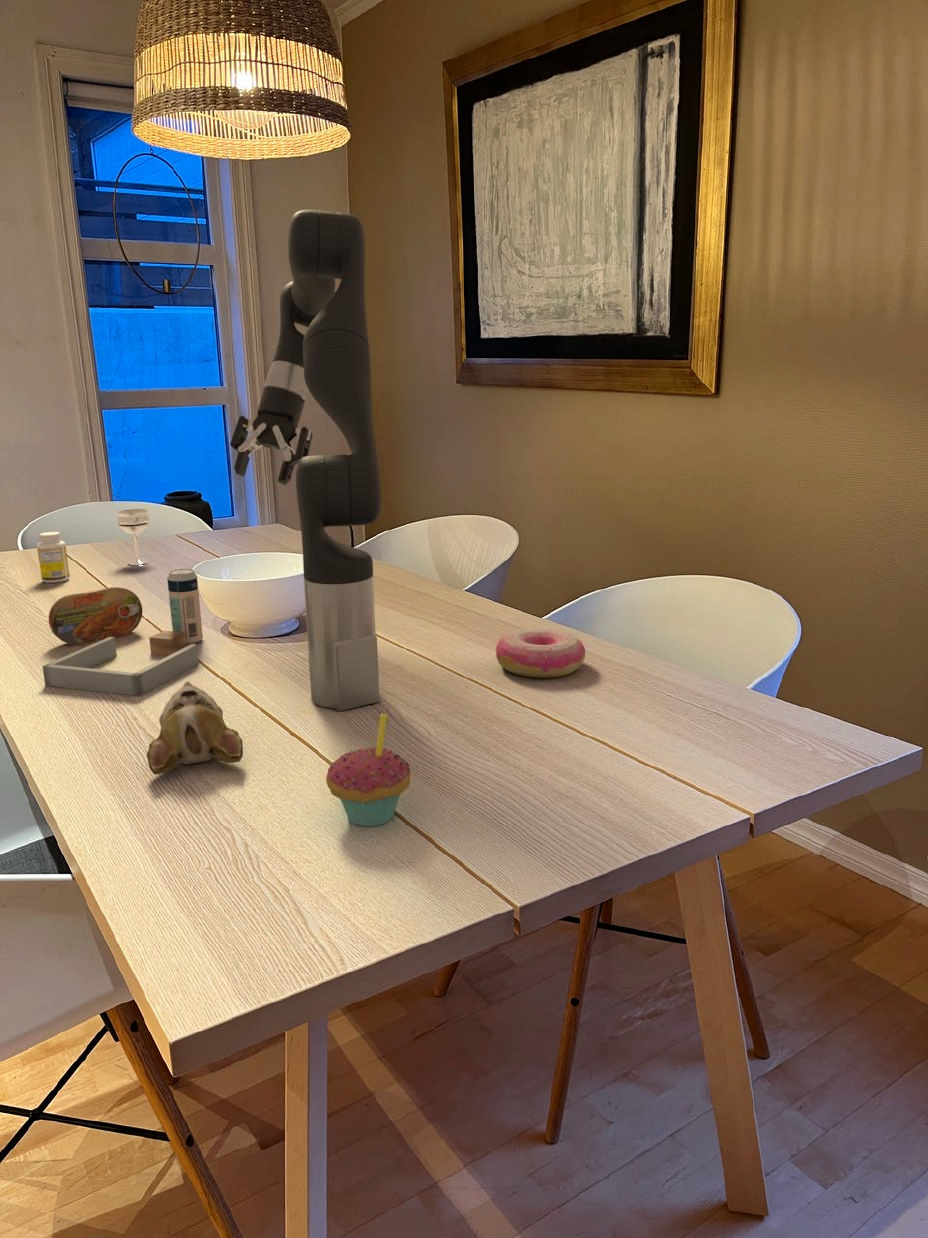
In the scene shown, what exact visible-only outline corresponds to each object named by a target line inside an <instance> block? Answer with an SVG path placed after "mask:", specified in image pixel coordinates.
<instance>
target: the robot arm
mask: <svg viewBox="0 0 928 1238" xmlns="http://www.w3.org/2000/svg"><path fill="white" fill-rule="evenodd" d="M287 237H288V238H287V239H288V240H287V241H288V243H287V247H288V248H287V251H288V253H287V254H288V262H289V266H290V272H291V276H292V281H290V282H288V283H287V284H286V285H285V286H284V287H283V289H282V290H281V294H280V297H279V317H280V321H279V323H280V325H279V337H278V341H277V345H276V349H275V353H274V357H273V360H272V364H271V366H270V369H269V371H268V372H267V375H266V380H265V383H264V386H263V390H262V393H261V397H260V400H259V403H258V407H257V415H256V417H255V418H254V419H251V418H247V417H245V415H240V416H239V417H238V419H237V424H236V426H235V428H234V431H233V434H232V437H231V441H230V443H229V445H230V447H231V448H233V449H234V450H236V451H237V457H236V461H235V464H234V467H233V468H234V471H235V474H236V475H237V476H240V477H245V475H246V473H247V470H248V469H247V468H248V466H249V465H248V464H249V462H250V459H251V457H250V456H251V455H252V454H253V453H254V452H255V451H257V450H260V449H261V448H262V447H265V448H267V449H268V448H269V449H270V448H273V449H276V450H280V451H282V454H283V457H284V460H283V461H282V465H281V467H280V470H279V475H278V478H277V481H278V483H279V484H281V485H284V486H285V485H287V484H288V483H290V481H291V479H292V475H293V472H294V469H295V467H296V472H295V488H296V491H295V492H296V501H297V507H298V515H299V523H300V531H301V532H300V533H301V545H302V559H303V560H302V565H303V584H304V585H303V586H304V599H305V601H304V604H305V618H306V619H305V621H306V635H307V637H306V638H307V651H308V652H307V653H308V667H309V678H310V679H309V682H310V696H311V697H310V699H311V701H312V703H313V704H315V705H317V706H320V707H323V708H329V709H335V710H337V711H347V710H349V709H353V708H358V707H363V706H366V705H371V704H376V703H379V702H380V682H379V680H380V678H379V677H380V675H379V657H378V656H379V655H378V651H379V650H378V637H377V635H376V614H375V611H376V610H375V607H376V606H375V587H374V583H375V582H374V563H373V562H374V561H373V558H372V555H371V554H369V552H367V551H365V550H362V549H360V548H356V547H352V546H350V545H346V544H345V543H342V542H340V541H338V540H336V539H334V538H333V537H332V536H330V535H329V534H328V533H327V531H326V530H325V528H326V527H327V528H328V527H329V528H330V527H351V526H366V525H372V524H374V523H376V521H377V520H378V519H379V517H380V514H381V509H382V499H383V498H382V484H381V483H382V482H381V475H380V466H379V460H378V453H377V445H376V437H375V429H374V419H373V407H372V404H373V403H372V370H371V369H372V368H371V367H372V366H371V351H370V350H371V349H370V341H369V340H370V339H369V333H368V324H367V323H368V322H367V315H366V299H365V298H366V295H365V294H366V292H365V291H366V290H365V289H366V287H365V286H366V285H365V284H366V283H365V282H366V281H365V278H366V277H365V276H366V273H365V272H366V271H365V270H366V267H365V266H366V248H365V247H366V246H365V245H366V244H365V233H364V228H363V224H362V222H361V220H360V218H359V217H358V216H356V215H354V214H351V213H346V212H338V211H330V210H329V211H326V210H317V209H316V210H315V209H303V210H302V209H300V210H299V211H297V212H295V213H293V216H292V217H291V220H290V223H289V228H288V236H287ZM336 280H340V282H339V285H338V287H337V289H336ZM296 324H297V325H300V326H303V327H305V328H307V329H306V331H305V333H304V334H303V333H301V331H299V330H298V329H297V327H296ZM308 392H309V393H310V394H311V396H312V397H313V399H314V400H315V401H316V403H317V404H318V405H319V407H320V408H321V409H322V410H323V411H324V412H325V413H326V415H328V417H329V418H330V419H331V420H332V421H333V422H334V423H335V424H336V426H337V427H338V428H339V431H341V433H342V434H343V435H342V436H343V437H344V438H345V440H346V442H347V445H348V447H349V449H350V451H351V454H327V455H324V454H322V455H309V453H310V449H311V443H312V440H313V434H314V433H313V432H312V431H311V430H310V428H308V427H306V426H303V427H298V424H299V423H300V421H301V418H302V413H303V410H304V406H305V403H306V399H307V397H308V394H309V393H308ZM252 428H253V431H252ZM251 431H252V433H251V434H249V432H251ZM248 434H249V435H248ZM296 437H297V439H298V442H297V446H296V450H294V447H293V444H292V440H293V439H295V438H296ZM296 465H297V466H296Z"/></svg>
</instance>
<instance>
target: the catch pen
mask: <svg viewBox="0 0 928 1238" xmlns="http://www.w3.org/2000/svg"><path fill="white" fill-rule="evenodd" d="M116 645H117V644H116V637H108V638H106V639H104V640H100V641H96V642H93V643H92V644H90V645H88V646H85V647H83V648H81V649H79V650H76V651H75V652H71V653H70V654H67V655H65V656H63V657H60V658H59V659H56V660H54V661H51V662H49V663H47V664H45V665H42V672H43V680H44V686H45V687H51V686H55V687H54V688H61V687H65V688H64V689H70V688H72V689H71V690H79V689H81V691H87V692H88V691H89V692H91V691H92V692H98V693H109V694H118V695H125V696H126V695H127V696H135V697H136V696H137V697H140V696H142V695H144V694H146V693H148V692H149V691H152V690H153V689H155V688H157V687H158V686H160V685H162V684H164V683H165V682H167V681H169V680H172V679H173V678H175V677H176V676H178V675H181V674H182V673H184V672H186V671H187V670H189V669H190V668H193V667H194V666H196V665H198V664H199V663H200V662H199V651H198V644H196V643H195V644H191V645H187V647H185V648H183V649H181V650H179V651H177V652H175V653H173V654H171V655H169V656H165V657H163V658H162V659H159V660H158V661H156V662H154V663H152V664H150V665H147V666H146V667H144V668H142V669H141V670H138V671H137V672H128V671H119V670H109V669H100V668H93V667H96V666H97V665H99V664H102V663H104V662H106V661H108V660H110V659H113V658H114V657H116V656H118V655H117V654H118V653H117V646H116Z"/></svg>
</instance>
